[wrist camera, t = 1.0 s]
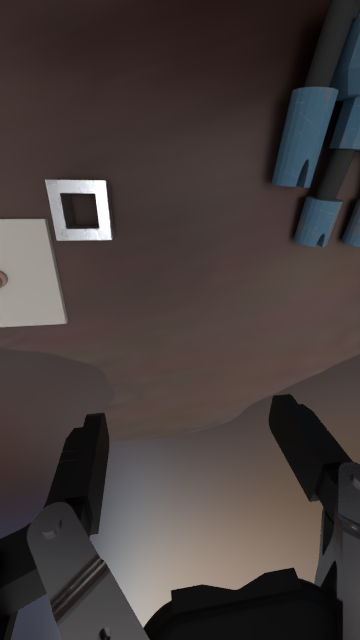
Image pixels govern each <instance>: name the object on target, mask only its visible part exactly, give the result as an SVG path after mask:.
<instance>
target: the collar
mask: <svg viewBox="0 0 360 640" xmlns="http://www.w3.org/2000/svg"><path fill="white" fill-rule="evenodd" d="M45 182H46V187H47V192H48V197H49V202H50V207H51V213H52V218H53V223H54V228H55V233H56V239H57V241H61V240H112V239H113V237H114V236H115V228H114V217H113V207H112V197H111V187H110V183H109V182H107V181H98V180H45ZM71 194H95V196H96V204H97V212H98V221H99V225H75V219H74V213H73V207H72V200H71Z"/></svg>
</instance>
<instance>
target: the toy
mask: <svg viewBox="0 0 360 640" xmlns="http://www.w3.org/2000/svg"><path fill="white" fill-rule="evenodd" d="M335 101H343V105H342V109H341V112H340V115H339V118H338V121H337V125H336V128H335V131H334V134H333V137H332V140H331V144H330V147H329V148H330V149H333V151H332V154H331V156H330V159H329V162H328V164H327V167H326V169H325V172H324V174H323V177H322V179H321V182H320V185H319V187H318V190H317V192H316V195H315V196H308V197H306V200H305V203H304V206H303V210H302V213H301V217H300V220H299V223H298V227H297V230H296V233H295V237H294V241H295V242H297V243H299V244H302V245H306V246H312V247H315V246H316V244H317V245H319V246H321V247H325V246H327V243H328V241H329V238H330V235H331V233H332V230H333V227H334V224H335V222H336V219H337V216H338V214H339V211H340V208H341V206H342V203H343V201H342V200H339V199H335V198H336V196H337V194H338V191H339V189H340V186H341V184H342V182H343V179H344V177H345V175H346V172H347V170H348V168H349V165H350V163H351V161H352V158H353V156H354V153H355V151H360V0H332V1H330V4H329V8H328V11H327V14H326V17H325V21H324V24H323V27H322V30H321V34H320V37H319V40H318V43H317V47H316V50H315V53H314V56H313V59H312V63H311V66H310V69H309V72H308V76H307V79H306V82H305V85H304V88H298V89H294V90H293V91H292V95H291V99H290V104H289V108H288V112H287V117H286V121H285V126H284V130H283V135H282V139H281V143H280V148H279V152H278V157H277V161H276V166H275V170H274V174H273V179H272V183H271V184H274V185H280V186H288V187H296V186H299V187H303V188H308V187H310V185H311V181H312V178H313V175H314V171H315V168H316V165H317V161H318V158H319V155H320V151H321V148H322V145H323V141H324V138H325V135H326V131H327V128H328V125H329V121H330V118H331V115H332V111H333V108H334V105H335ZM341 241H342V242H343V243H345V244H348V245H352V246H356V247H360V199H358V200H357V203H356V205H355V208H354V210H353V213H352V215H351V218H350V220H349V223H348V225H347V228H346V230H345V233H344V235H343V238H342V240H341Z"/></svg>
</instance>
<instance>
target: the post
mask: <svg viewBox="0 0 360 640" xmlns="http://www.w3.org/2000/svg"><path fill="white" fill-rule="evenodd" d="M67 322H68V318H67V313H66V308H65V303H64V298H63V293H62V288H61V284H60V279H59V274H58V269H57V264H56V259H55V254H54V249H53V244H52V239H51V234H50V229H49V224H48V219H0V327H13V326H32V325H51V324H66V323H67Z"/></svg>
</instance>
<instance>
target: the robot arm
mask: <svg viewBox="0 0 360 640" xmlns="http://www.w3.org/2000/svg"><path fill="white" fill-rule="evenodd" d="M269 427H270V429H271V432H272V434H273V436H274V437H275V439H276V441H277V443H278V445H279V447H280V448H281V450H282V452H283V454H284V456H285V458H286V460H287V461H288V463H289V465H290V467H291V469H292V470H293V472H294V474H295V476H296V478H297V480H298V481H299V483H300V485H301V487H302V488H303V490H304V492H305V494H306V496H307V498H308V500H309V501H310V502H312V501H318V500H320V502H321V503H322V505H323V509H322V519H321V535H320V551H319V561H318V567H317V571H316V576H315V582H314V584H313V583H311V582H309V581H306V580H303V579H299V578H298V576H297V574H296V572H295V569H294V568H289V569H283V570H278V571H273V572H268V573H264V574H263V575H261V576H259V577H258V578H256V579H255V580H253V581H251V582H250V583H248V584H247V585H245V586H243V587H242V588H240V589H238V590H231V589H225V588H220V587H213V586H208V585H197V586H192V587H187V588H181V589H176V590H172V591H171V595H172V596H171V597H172V600H171V601H170V602H168V603H167V604H165V605H164V606H162V607H161V608H160V609H159V610H158V611H157V612H156V613H155V614H154V615H153V616H152V617H151V618H150V620H149V621H148V622H147V624H146V625H145V626H144V628H143V627H142V625H141V624H140V622H139V620H138V619H137V617H136V615H135V613H134V612H133V610H132V608H131V606H130V604H129V603H128V601H127V599H126V597H125V596H124V594H123V592H122V590H121V589H120V587H119V585H118V583H117V582H116V580H115V578H114V576H113V575H112V573H111V571H110V569H109V568H108V566H107V564H106V563H105V562H104V560H102V559H101V558H100V557H99V555H98V553H97V551H96V550H95V548H94V546H93V544H92V542H91V541H90V539H89V537H90V535H93V534H98V531H99V523H100V515H101V507H102V500H103V492H104V485H105V477H106V469H107V462H108V454H109V434H108V428H107V423H106V417H105V413H95V414H87V415H86V418H85V422H84V426H83V427H81V428H74V429H73V431H72V432H71V433H70V434H69V436H68V437H67V438H66V441H65V444H64V447H63V452H62V453H61V457H60V460H59V464H58V466H57V470H56V473H55V476H54V479H53V482H52V486H51V489H50V492H49V495H48V498H47V501H46V504H45V506H44V508H43V509H42V510H41V511H40V512H39V513H38V514H37V515H36V516H35V518H34V519H33V520H32V522H31V523H30V524H28V525H27V526H25V527H24V528H22V529H21V530H18V531H16V532H14V533H12V534H10V535H8V536H6V537H4V538H1V539H0V640H11V636H12V632H13V628H14V624H15V621H16V617H17V613H18V610H19V609H21V608H23V607H24V606H26V605H28V604H29V603H31V602H33V601H35V600H36V599H38V598H40V597H41V596H43V595H45V594H46V593H47V595H48V598H49V601H50V603H51V606H52V612H53V615H54V618H55V621H56V624H57V626H58V629H59V632H60V635H61V637H62V640H360V464H358V463H355V462H353V461H352V460H351V459H350V458H349V456H348V455H347V454H346V452H344V450H343V449H342V448H341V446H340V445H339V444H338V442H337V441H336V440H335V439H334V437H333V436H332V435H331V434H330V432H329V431H327V429H326V427H325V426H324V425H323V423H321V422H320V420H319V419H318V417H317V416H316V415H315V413H314V412H313V411H312V410H310V409H309V408H307V407H306V406H305V405H303V404H298V403H297V402H296V400H295V399H294V398H293V396H291V395H290V394H287V395H276V396H273V399H272V404H271V409H270V414H269Z"/></svg>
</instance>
